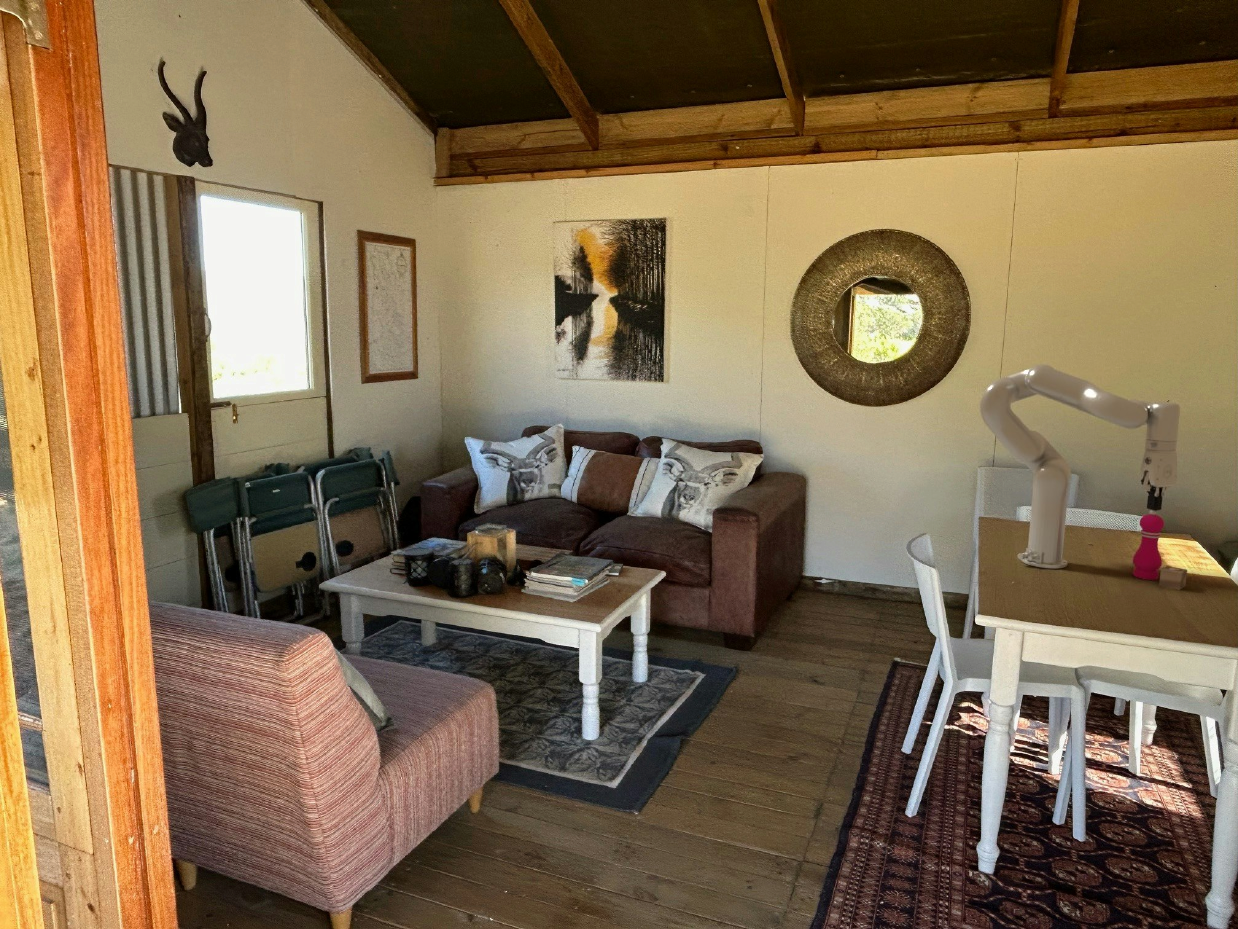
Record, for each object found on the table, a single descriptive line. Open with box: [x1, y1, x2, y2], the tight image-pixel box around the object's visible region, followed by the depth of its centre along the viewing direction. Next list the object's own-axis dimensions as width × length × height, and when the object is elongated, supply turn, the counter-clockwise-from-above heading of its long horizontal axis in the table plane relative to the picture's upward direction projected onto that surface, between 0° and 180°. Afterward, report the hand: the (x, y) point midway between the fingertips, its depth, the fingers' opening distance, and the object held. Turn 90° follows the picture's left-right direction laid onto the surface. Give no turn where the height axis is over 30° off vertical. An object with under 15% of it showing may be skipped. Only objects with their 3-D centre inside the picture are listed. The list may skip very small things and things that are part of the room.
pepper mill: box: [1132, 509, 1165, 581], centre depth 250 cm, size 7×7×20 cm
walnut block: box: [1158, 565, 1188, 591], centre depth 243 cm, size 5×5×5 cm
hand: (1153, 509), depth 249 cm, fingers closed
